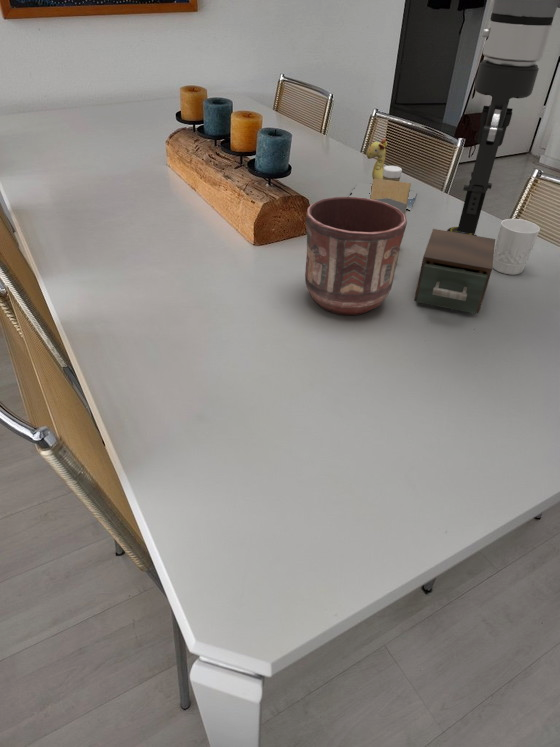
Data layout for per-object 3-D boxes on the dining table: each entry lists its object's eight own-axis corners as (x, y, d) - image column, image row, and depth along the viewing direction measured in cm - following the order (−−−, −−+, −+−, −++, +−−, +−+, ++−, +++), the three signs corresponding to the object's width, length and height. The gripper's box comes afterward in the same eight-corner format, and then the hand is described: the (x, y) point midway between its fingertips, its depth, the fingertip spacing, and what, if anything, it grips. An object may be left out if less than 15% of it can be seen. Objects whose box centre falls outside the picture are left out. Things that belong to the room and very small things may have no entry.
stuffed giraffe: (357, 183, 164) (366, 127, 153) (417, 193, 160) (430, 137, 150) (345, 202, 152) (353, 144, 142) (409, 214, 148) (422, 155, 138)
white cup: (523, 279, 118) (538, 235, 112) (486, 271, 120) (499, 228, 114) (526, 265, 124) (541, 222, 118) (491, 257, 126) (503, 215, 120)
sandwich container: (355, 268, 119) (364, 201, 110) (363, 240, 131) (372, 177, 122) (395, 273, 118) (407, 206, 109) (399, 245, 130) (411, 182, 121)
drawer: (474, 324, 101) (485, 287, 96) (413, 312, 104) (421, 275, 99) (480, 282, 114) (490, 248, 109) (425, 272, 117) (433, 238, 112)
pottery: (324, 332, 99) (334, 238, 88) (287, 287, 111) (291, 201, 100) (407, 315, 104) (426, 226, 93) (363, 274, 117) (375, 191, 106)
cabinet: (478, 313, 106) (492, 269, 100) (413, 300, 109) (423, 256, 103) (483, 281, 117) (495, 239, 111) (424, 270, 120) (433, 228, 114)
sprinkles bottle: (397, 221, 141) (406, 168, 133) (384, 225, 139) (392, 171, 131) (384, 215, 144) (393, 163, 136) (372, 219, 142) (379, 166, 134)
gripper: (483, 52, 78) (446, 212, 92) (477, 65, 68) (437, 242, 82) (539, 57, 76) (492, 220, 90) (541, 70, 66) (488, 251, 80)
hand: (466, 230), depth 86 cm, fingers closed
